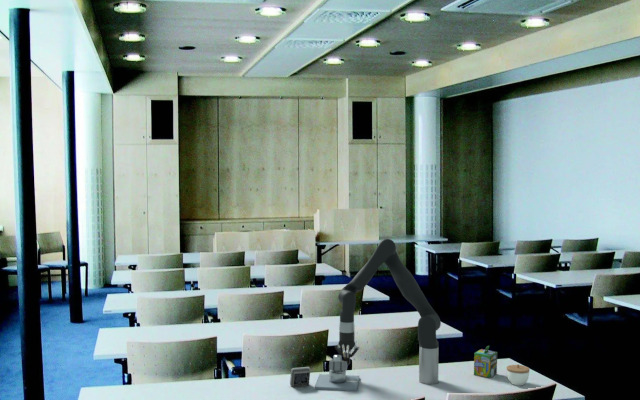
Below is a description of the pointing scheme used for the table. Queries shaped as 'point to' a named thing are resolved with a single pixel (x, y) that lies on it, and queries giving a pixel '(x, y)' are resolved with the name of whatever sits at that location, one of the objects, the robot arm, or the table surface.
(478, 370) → the chalk box
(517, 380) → the lidded jar
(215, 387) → the table surface
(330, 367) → the coupling
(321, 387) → the base board
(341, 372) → the post
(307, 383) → the electrical switch
